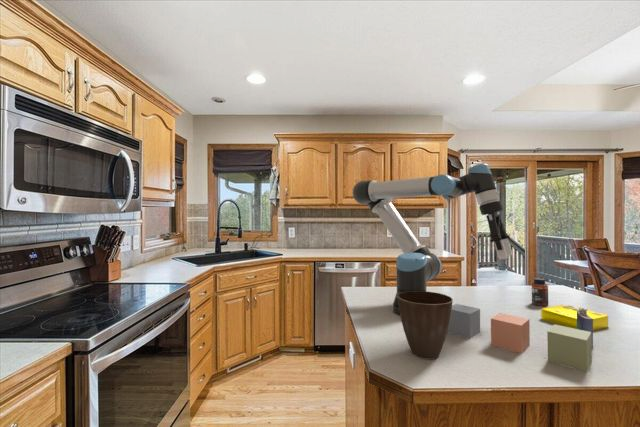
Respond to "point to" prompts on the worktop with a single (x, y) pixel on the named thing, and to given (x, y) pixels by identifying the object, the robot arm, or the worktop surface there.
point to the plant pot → (425, 321)
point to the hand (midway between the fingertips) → (506, 257)
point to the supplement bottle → (539, 292)
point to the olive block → (570, 347)
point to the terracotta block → (510, 332)
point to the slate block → (464, 321)
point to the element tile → (572, 316)
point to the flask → (585, 322)
